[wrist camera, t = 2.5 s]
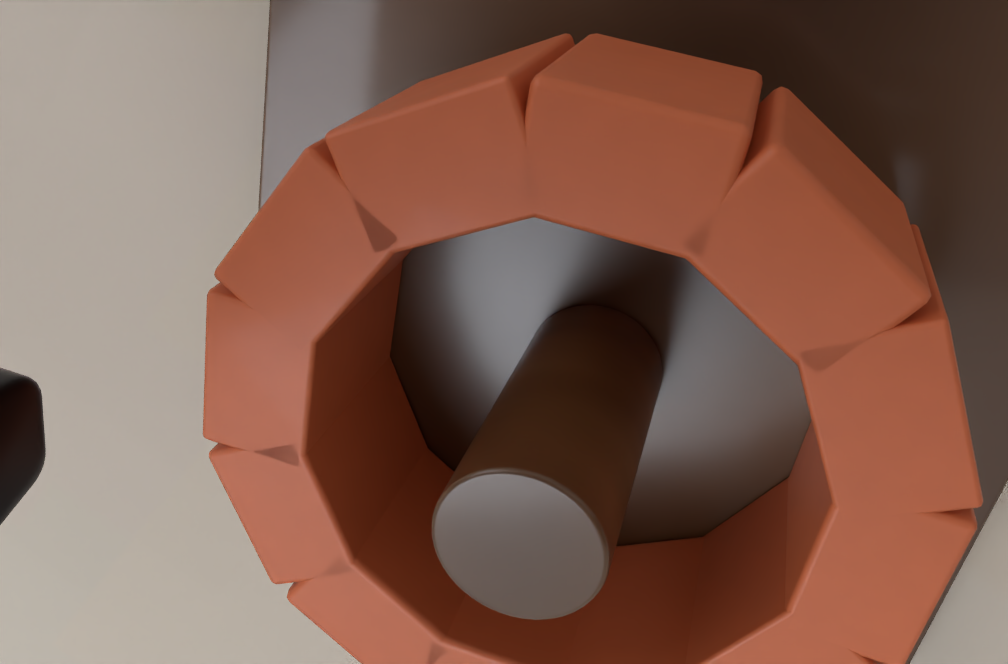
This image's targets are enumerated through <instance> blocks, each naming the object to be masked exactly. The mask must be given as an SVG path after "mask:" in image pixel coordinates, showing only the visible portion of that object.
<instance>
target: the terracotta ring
mask: <svg viewBox="0 0 1008 664" xmlns="http://www.w3.org/2000/svg"><path fill="white" fill-rule="evenodd" d="M762 84H763V82H762V75H760V74H759V73H758V72H756V71H754V70H749V69H745V68H741V67H737V66H732V65H728V64H724V63H720V62H716V61H711V60H707V59H703V58H699V57H694V56H690V55H686V54H682V53H678V52H673V51H669V50H665V49H661V48H656V47H652V46H648V45H644V44H639V43H635V42H631V41H627V40H623V39H618V38H614V37H610V36H606V35H601V34H597V33H596V34H590V35H588V36H587V37H586V38H584V39H583V40H582V41H580V42H579V43H578V44H576V45H575V44H574V40H573V37H572V36H571V35H570V34H566V33H564V34H561V35H558V36H555V37H552V38H549V39H546V40H543V41H540V42H537V43H534V44H531V45H528V46H525V47H522V48H519V49H516V50H513V51H510V52H507V53H504V54H501V55H498V56H495V57H492V58H489V59H486V60H483V61H480V62H477V63H474V64H471V65H468V66H465V67H462V68H459V69H456V70H453V71H450V72H447V73H444V74H441V75H438V76H435V77H432V78H429V79H426V80H423V81H420V82H418V83H417V84H415V85H413V86H411V87H409V88H407V89H406V90H404V91H402V92H400V93H398V94H396V95H395V96H393V97H391V98H389V99H387V100H385V101H383V102H382V103H380V104H378V105H376V106H374V107H372V108H371V109H369V110H367V111H365V112H363V113H361V114H360V115H358V116H356V117H354V118H352V119H350V120H349V121H347V122H345V123H343V124H341V125H339V126H338V127H336V128H334V129H332V130H330V131H329V132H328V133H327V134H326V135H325V138H323V139H321V140H319V141H318V142H316V143H314V144H312V145H310V146H309V147H307V148H305V149H304V151H303V152H302V153H301V155H300V156H299V158H298V159H297V160H296V162H295V163H294V164H293V166H292V167H291V168H290V170H289V171H288V172H287V174H286V175H285V176H284V178H283V179H282V181H281V182H280V183H279V185H278V186H277V187H276V189H275V190H274V191H273V193H272V194H271V195H270V197H269V198H268V199H267V201H266V202H265V204H264V205H263V206H262V208H261V209H260V210H259V212H258V213H257V214H256V216H255V217H254V218H253V220H252V221H251V222H250V224H249V225H248V227H247V228H246V229H245V231H244V232H243V233H242V235H241V236H240V237H239V239H238V240H237V241H236V243H235V244H234V245H233V247H232V248H231V249H230V251H229V252H228V254H227V255H226V256H225V258H224V259H223V260H222V262H221V263H220V264H219V266H218V267H217V268H216V270H215V274H214V275H215V277H216V279H217V280H219V281H220V283H219V284H217V285H216V286H215V287H213V288H212V289H210V290H209V292H208V294H207V315H206V350H205V384H204V419H203V435H204V437H205V438H206V439H209V440H212V441H215V442H218V444H217V445H216V446H215V447H214V448H213V449H212V450H211V451H210V452H209V458H210V460H211V462H212V464H213V466H214V468H215V470H216V472H217V474H218V476H219V478H220V480H221V482H222V484H223V486H224V488H225V490H226V492H227V494H228V496H229V498H230V500H231V502H232V504H233V506H234V508H235V510H236V512H237V514H238V516H239V518H240V520H241V522H242V524H243V526H244V528H245V530H246V532H247V534H248V536H249V538H250V540H251V542H252V544H253V546H254V548H255V550H256V552H257V554H258V556H259V558H260V560H261V562H262V564H263V566H264V568H265V570H266V572H267V574H268V576H269V578H270V580H271V581H272V582H273V583H275V584H282V583H291V582H294V583H293V585H292V586H291V587H290V589H289V591H288V595H287V598H288V600H289V602H290V603H292V604H293V605H294V606H295V607H296V608H297V609H299V610H300V611H301V612H302V613H303V614H304V615H306V616H307V617H308V618H309V619H310V620H311V621H313V622H314V623H315V624H316V625H317V626H318V627H320V628H321V629H322V630H323V631H324V632H325V633H327V634H328V635H329V636H330V637H331V638H332V639H334V640H335V641H336V642H337V643H338V644H339V645H341V646H342V647H343V648H344V649H345V650H346V651H348V652H349V653H350V654H351V655H352V656H353V657H355V658H356V659H357V660H358V661H359V662H360V663H362V664H905V663H906V661H907V659H908V657H909V655H910V654H911V652H912V650H913V648H914V646H915V644H916V642H917V640H918V639H919V637H920V635H921V633H922V631H923V629H924V627H925V625H926V623H927V622H928V620H929V618H930V616H931V614H932V612H933V610H934V608H935V607H936V605H937V603H938V601H939V599H940V597H941V595H942V593H943V592H944V590H945V588H946V586H947V584H948V582H949V580H950V578H951V577H952V575H953V573H954V571H955V569H956V567H957V565H958V563H959V562H960V560H961V558H962V556H963V554H964V552H965V550H966V548H967V547H968V545H969V543H970V541H971V539H972V537H973V535H974V533H975V531H976V530H977V520H976V516H975V513H974V509H973V508H978V507H981V506H982V503H983V497H982V491H981V486H980V481H979V476H978V470H977V465H976V460H975V455H974V449H973V444H972V439H971V434H970V428H969V423H968V418H967V413H966V407H965V402H964V397H963V392H962V386H961V381H960V376H959V371H958V365H957V360H956V355H955V350H954V344H953V339H952V334H951V329H950V323H949V320H948V317H947V314H946V311H945V307H944V304H943V301H942V298H941V295H940V292H939V289H938V286H937V283H936V280H935V276H934V273H933V270H932V267H931V264H930V261H929V258H928V255H927V252H926V249H925V246H924V242H923V239H922V236H921V233H920V230H919V228H918V226H917V225H914V224H911V225H910V222H909V219H908V215H907V212H906V209H905V206H904V203H903V202H902V201H901V200H900V199H899V198H898V197H897V196H896V195H895V194H894V193H893V192H892V191H891V190H890V189H889V188H888V187H887V186H886V185H885V184H884V183H883V182H882V181H881V180H880V179H879V178H878V177H877V176H876V175H875V174H874V173H873V172H872V171H871V170H870V169H869V168H868V167H867V166H866V165H865V164H864V163H863V162H862V161H861V160H860V159H859V158H858V157H857V156H856V155H855V154H854V153H853V152H852V151H851V150H850V149H849V148H848V147H847V146H846V145H845V144H844V143H843V142H841V141H840V140H839V139H838V138H837V137H836V136H835V135H834V134H833V133H832V132H831V131H830V130H829V129H828V128H827V127H826V126H825V125H824V124H823V123H822V122H821V121H820V120H819V119H818V118H817V117H816V116H815V115H814V114H813V113H812V112H811V111H810V110H809V109H808V108H807V107H806V106H805V105H804V104H803V103H802V102H801V101H800V100H799V99H798V98H797V97H796V96H795V95H794V94H793V93H792V92H791V91H790V90H789V89H787V88H784V87H779V88H777V89H774V90H773V91H772V92H771V93H770V94H769V95H768V96H767V97H766V98H765V99H764V100H763V101H762V102H760V103H759V99H760V94H761V89H762ZM533 217H535V218H539V219H542V220H546V221H550V222H553V223H557V224H561V225H564V226H568V227H572V228H575V229H579V230H583V231H586V232H590V233H594V234H597V235H601V236H605V237H608V238H612V239H616V240H619V241H623V242H627V243H630V244H634V245H638V246H641V247H645V248H649V249H652V250H656V251H660V252H663V253H667V254H671V255H674V256H678V257H682V258H685V259H686V260H688V261H689V262H690V263H691V264H692V265H693V266H694V267H695V268H696V269H697V270H698V271H699V272H700V273H701V274H702V275H703V276H704V277H705V278H706V279H707V280H709V281H710V282H711V283H712V284H713V285H714V286H715V287H716V288H717V289H718V290H719V291H720V292H721V293H722V294H723V295H724V296H725V297H726V298H727V299H728V300H730V301H731V302H732V303H733V304H734V305H735V306H736V307H737V308H738V309H739V310H740V311H741V312H742V313H743V314H744V315H745V316H746V317H747V318H748V319H749V320H751V321H752V322H753V323H754V324H755V325H756V326H757V327H758V328H759V329H760V330H761V331H762V332H763V333H764V334H765V335H766V336H767V337H768V338H769V339H770V340H771V341H773V342H774V343H775V344H776V345H777V346H778V347H779V348H780V349H781V350H782V351H783V352H784V353H785V354H786V355H787V356H788V357H789V358H790V359H791V360H792V361H794V362H795V363H796V364H797V365H798V369H799V373H800V377H801V381H802V385H803V389H804V393H805V397H806V401H807V404H808V408H809V412H810V416H811V423H810V425H809V428H808V430H807V433H806V435H805V438H804V440H803V443H802V445H801V448H800V450H799V453H798V456H797V458H796V461H795V463H794V466H793V468H792V471H791V473H790V476H789V477H788V478H787V479H785V480H784V481H783V482H781V483H780V484H778V485H777V486H775V487H774V488H772V489H771V490H770V491H768V492H767V493H765V494H764V495H762V496H761V497H760V498H758V499H757V500H755V501H754V502H752V503H751V504H749V505H748V506H747V507H745V508H744V509H742V510H741V511H739V512H738V513H736V514H735V515H734V516H732V517H731V518H729V519H728V520H726V521H725V522H723V523H722V524H721V525H719V526H718V527H716V528H715V529H713V530H712V531H710V532H709V533H708V534H706V535H705V536H703V537H696V538H686V539H677V540H668V541H659V542H650V543H641V544H632V545H623V546H616V548H615V552H614V556H613V559H612V563H611V566H610V570H609V573H608V576H607V579H606V581H605V584H604V585H603V587H602V589H601V590H600V592H599V593H598V594H597V595H596V596H595V597H594V599H592V600H591V601H590V602H589V603H587V604H586V605H585V606H584V607H582V608H580V609H579V610H577V611H575V612H573V613H571V614H568V615H565V616H562V617H558V618H553V619H544V620H532V619H522V618H517V617H512V616H509V615H505V614H502V613H499V612H497V611H495V610H492V609H490V608H488V607H486V606H484V605H482V604H481V603H479V602H477V601H476V600H474V599H473V598H471V597H470V596H469V595H468V594H466V593H465V592H464V591H463V590H462V589H461V588H460V587H458V586H457V585H456V584H455V582H454V581H453V580H452V579H451V578H450V576H449V575H448V574H447V572H446V571H445V569H444V568H443V566H442V564H441V562H440V560H439V558H438V556H437V553H436V551H435V548H434V543H433V538H432V516H433V512H434V508H435V506H436V503H437V501H438V499H439V497H440V495H441V494H442V492H443V490H444V489H445V487H446V485H447V484H448V482H449V480H450V478H451V477H452V475H453V473H454V471H453V470H452V469H451V468H449V467H448V466H447V465H446V464H445V463H444V462H443V461H442V460H440V459H439V458H438V457H437V456H436V455H435V454H434V453H433V452H432V451H430V450H429V449H428V448H427V445H426V443H425V440H424V438H423V435H422V433H421V431H420V428H419V426H418V423H417V421H416V418H415V416H414V414H413V411H412V409H411V406H410V404H409V401H408V399H407V397H406V394H405V392H404V389H403V387H402V384H401V382H400V380H399V377H398V375H397V372H396V370H395V367H394V365H393V363H392V360H391V358H390V351H391V343H392V336H393V329H394V321H395V314H396V307H397V299H398V292H399V285H400V277H401V270H402V263H403V259H404V258H405V257H406V256H407V255H408V253H409V252H410V251H411V250H412V249H413V248H416V247H420V246H424V245H428V244H432V243H435V242H439V241H443V240H447V239H451V238H455V237H459V236H463V235H467V234H470V233H474V232H478V231H482V230H486V229H490V228H494V227H498V226H502V225H505V224H509V223H513V222H517V221H521V220H525V219H529V218H533Z"/></svg>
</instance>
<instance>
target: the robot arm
mask: <svg viewBox="0 0 1008 664" xmlns="http://www.w3.org/2000/svg"><path fill="white" fill-rule="evenodd" d="M45 452H46V450H45V435H44V421H43V406H42V394H41V390H40V388H39V386H38V384H37V383H36V382H35V381H34V380H33V379H31V378H29V377H27V376H24V375H21V374H18V373H15V372H12V371H9V370H6V369H3V368H0V525H1V523H2V522H3V521H4V520H5V518H6V517H7V516H8V515H9V513H10V512H11V511H12V510H13V509H14V507H15V506H16V505H17V504H18V502H19V501H20V500H21V499H22V497H23V496H24V495H25V494H26V492H27V491H28V490H29V489H30V487H31V486H32V485H33V484H34V482H35V481H36V479H37V478H38V476H39V474H40V472H41V470H42V467H43V465H44V460H45Z"/></svg>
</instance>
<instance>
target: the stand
mask: <svg viewBox="0 0 1008 664" xmlns="http://www.w3.org/2000/svg"><path fill="white" fill-rule="evenodd" d="M564 33H566V34H570V35H571V36H572V37H573V40H574V44H575V45H576V44H578V43H579V42H580V41H582V40H583V39H584V38H586V37H587V36H588V35H590V34H596V33H597V34H601V35H606V36H610V37H614V38H618V39H623V40H627V41H631V42H635V43H639V44H644V45H648V46H652V47H656V48H661V49H665V50H669V51H673V52H678V53H682V54H686V55H690V56H694V57H699V58H703V59H707V60H711V61H716V62H720V63H724V64H728V65H732V66H737V67H741V68H745V69H749V70H754V71H756V72H758V73H759V74H760V75H762V82H763V84H762V89H761V94H760V99H759V103H760V102H762V101H763V100H764V99H765V98H766V97H767V96H768V95H769V94H770V93H771V92H772V91H773V90H774V89H777V88H779V87H784V88H787V89H789V90H790V91H791V92H792V93H793V94H794V95H795V96H796V97H797V98H798V99H799V100H800V101H801V102H802V103H803V104H804V105H805V106H806V107H807V108H808V109H809V110H810V111H811V112H812V113H813V114H814V115H815V116H816V117H817V118H818V119H819V120H820V121H821V122H822V123H823V124H824V125H825V126H826V127H827V128H828V129H829V130H830V131H831V132H832V133H833V134H834V135H835V136H836V137H837V138H838V139H839V140H840V141H841V142H843V143H844V144H845V145H846V146H847V147H848V148H849V149H850V150H851V151H852V152H853V153H854V154H855V155H856V156H857V157H858V158H859V159H860V160H861V161H862V162H863V163H864V164H865V165H866V166H867V167H868V168H869V169H870V170H871V171H872V172H873V173H874V174H875V175H876V176H877V177H878V178H879V179H880V180H881V181H882V182H883V183H884V184H885V185H886V186H887V187H888V188H889V189H890V190H891V191H892V192H893V193H894V194H895V195H896V196H897V197H898V198H899V199H900V200H901V201H902V202H903V203H904V206H905V209H906V212H907V215H908V219H909V222H910V225H911V224H914V225H917V226H918V228H919V230H920V233H921V236H922V239H923V242H924V246H925V249H926V252H927V255H928V258H929V261H930V264H931V267H932V270H933V273H934V276H935V280H936V283H937V286H938V289H939V292H940V295H941V298H942V301H943V304H944V307H945V311H946V314H947V317H948V320H949V323H950V329H951V334H952V339H953V344H954V350H955V355H956V360H957V365H958V371H959V376H960V381H961V386H962V392H963V397H964V402H965V407H966V413H967V418H968V423H969V428H970V434H971V439H972V444H973V449H974V455H975V460H976V465H977V470H978V476H979V481H980V486H981V491H982V497H983V503H982V506H981V507H978V508H973V509H974V513H975V516H976V520H977V530H976V531H975V533H974V535H973V537H972V539H971V541H970V543H969V545H968V547H967V548H966V550H965V552H964V554H963V556H962V558H961V560H960V562H959V563H958V565H957V567H956V569H955V571H954V573H953V575H952V577H951V578H950V580H949V582H948V584H947V586H946V588H945V590H944V592H943V593H942V595H941V597H940V599H939V601H938V603H937V605H936V607H935V608H934V610H933V612H932V614H931V616H930V618H929V620H928V622H927V623H926V625H925V627H924V629H923V631H922V633H921V635H920V637H919V639H918V640H917V642H916V644H915V646H914V648H913V650H912V652H911V654H910V655H909V657H908V659H907V661H906V663H905V664H910V662H911V660H912V658H913V656H914V654H915V652H916V651H917V649H918V647H919V645H920V643H921V641H922V639H923V637H924V636H925V634H926V632H927V630H928V628H929V626H930V624H931V623H932V621H933V619H934V617H935V615H936V613H937V611H938V609H939V608H940V606H941V604H942V602H943V600H944V598H945V596H946V595H947V593H948V591H949V589H950V587H951V585H952V583H953V581H954V580H955V578H956V576H957V574H958V572H959V570H960V568H961V567H962V565H963V563H964V561H965V559H966V557H967V555H968V553H969V552H970V550H971V548H972V546H973V544H974V542H975V540H976V539H977V537H978V535H979V533H980V531H981V529H982V527H983V525H984V524H985V522H986V520H987V518H988V516H989V514H990V512H991V511H992V509H993V507H994V505H995V503H996V501H997V499H998V497H999V496H1000V494H1001V492H1002V490H1003V488H1004V486H1005V484H1006V482H1007V481H1008V0H270V12H269V31H268V49H267V67H266V85H265V103H264V121H263V139H262V157H261V175H260V193H259V210H260V209H261V208H262V206H263V205H264V204H265V202H266V201H267V199H268V198H269V197H270V195H271V194H272V193H273V191H274V190H275V189H276V187H277V186H278V185H279V183H280V182H281V181H282V179H283V178H284V176H285V175H286V174H287V172H288V171H289V170H290V168H291V167H292V166H293V164H294V163H295V162H296V160H297V159H298V158H299V156H300V155H301V153H302V152H303V151H304V149H305V148H307V147H309V146H310V145H312V144H314V143H316V142H318V141H319V140H321V139H323V138H325V135H326V134H327V133H328V132H329V131H330V130H332V129H334V128H336V127H338V126H339V125H341V124H343V123H345V122H347V121H349V120H350V119H352V118H354V117H356V116H358V115H360V114H361V113H363V112H365V111H367V110H369V109H371V108H372V107H374V106H376V105H378V104H380V103H382V102H383V101H385V100H387V99H389V98H391V97H393V96H395V95H396V94H398V93H400V92H402V91H404V90H406V89H407V88H409V87H411V86H413V85H415V84H417V83H418V82H420V81H423V80H426V79H429V78H432V77H435V76H438V75H441V74H444V73H447V72H450V71H453V70H456V69H459V68H462V67H465V66H468V65H471V64H474V63H477V62H480V61H483V60H486V59H489V58H492V57H495V56H498V55H501V54H504V53H507V52H510V51H513V50H516V49H519V48H522V47H525V46H528V45H531V44H534V43H537V42H540V41H543V40H546V39H549V38H552V37H555V36H558V35H561V34H564ZM258 212H259V211H258ZM390 358H391V360H392V363H393V365H394V367H395V370H396V372H397V375H398V377H399V380H400V382H401V384H402V387H403V389H404V392H405V394H406V397H407V399H408V401H409V404H410V406H411V409H412V411H413V414H414V416H415V418H416V421H417V423H418V426H419V428H420V431H421V433H422V435H423V438H424V440H425V443H426V445H427V448H428V449H429V450H430V451H432V452H433V453H434V454H435V455H436V456H437V457H438V458H439V459H440V460H442V461H443V462H444V463H445V464H446V465H447V466H448V467H449V468H451V469H452V470H453V471H454V473H453V475H452V477H451V478H450V480H449V482H448V484H447V485H446V487H445V489H444V490H443V492H442V494H441V495H440V497H439V499H438V501H437V503H436V506H435V508H434V512H433V516H432V538H433V543H434V548H435V551H436V553H437V556H438V558H439V560H440V562H441V564H442V566H443V568H444V569H445V571H446V572H447V574H448V575H449V576H450V578H451V579H452V580H453V581H454V582H455V584H456V585H457V586H458V587H460V588H461V589H462V590H463V591H464V592H465V593H466V594H468V595H469V596H470V597H471V598H473V599H474V600H476V601H477V602H479V603H481V604H482V605H484V606H486V607H488V608H490V609H492V610H495V611H497V612H499V613H502V614H505V615H509V616H512V617H517V618H522V619H532V620H544V619H553V618H558V617H562V616H565V615H568V614H571V613H573V612H575V611H577V610H579V609H580V608H582V607H584V606H585V605H586V604H587V603H589V602H590V601H591V600H592V599H594V597H595V596H596V595H597V594H598V593H599V592H600V590H601V589H602V587H603V585H604V584H605V581H606V579H607V576H608V573H609V570H610V566H611V563H612V559H613V556H614V552H615V548H616V546H623V545H632V544H641V543H650V542H659V541H668V540H677V539H686V538H696V537H703V536H705V535H706V534H708V533H709V532H710V531H712V530H713V529H715V528H716V527H718V526H719V525H721V524H722V523H723V522H725V521H726V520H728V519H729V518H731V517H732V516H734V515H735V514H736V513H738V512H739V511H741V510H742V509H744V508H745V507H747V506H748V505H749V504H751V503H752V502H754V501H755V500H757V499H758V498H760V497H761V496H762V495H764V494H765V493H767V492H768V491H770V490H771V489H772V488H774V487H775V486H777V485H778V484H780V483H781V482H783V481H784V480H785V479H787V478H788V477H789V476H790V473H791V471H792V468H793V466H794V463H795V461H796V458H797V456H798V453H799V450H800V448H801V445H802V443H803V440H804V438H805V435H806V433H807V430H808V428H809V425H810V423H811V416H810V412H809V408H808V404H807V401H806V397H805V393H804V389H803V385H802V381H801V377H800V373H799V369H798V365H797V364H796V363H795V362H794V361H792V360H791V359H790V358H789V357H788V356H787V355H786V354H785V353H784V352H783V351H782V350H781V349H780V348H779V347H778V346H777V345H776V344H775V343H774V342H773V341H771V340H770V339H769V338H768V337H767V336H766V335H765V334H764V333H763V332H762V331H761V330H760V329H759V328H758V327H757V326H756V325H755V324H754V323H753V322H752V321H751V320H749V319H748V318H747V317H746V316H745V315H744V314H743V313H742V312H741V311H740V310H739V309H738V308H737V307H736V306H735V305H734V304H733V303H732V302H731V301H730V300H728V299H727V298H726V297H725V296H724V295H723V294H722V293H721V292H720V291H719V290H718V289H717V288H716V287H715V286H714V285H713V284H712V283H711V282H710V281H709V280H707V279H706V278H705V277H704V276H703V275H702V274H701V273H700V272H699V271H698V270H697V269H696V268H695V267H694V266H693V265H692V264H691V263H690V262H689V261H688V260H686V259H685V258H682V257H678V256H674V255H671V254H667V253H663V252H660V251H656V250H652V249H649V248H645V247H641V246H638V245H634V244H630V243H627V242H623V241H619V240H616V239H612V238H608V237H605V236H601V235H597V234H594V233H590V232H586V231H583V230H579V229H575V228H572V227H568V226H564V225H561V224H557V223H553V222H550V221H546V220H542V219H539V218H535V217H533V218H529V219H525V220H521V221H517V222H513V223H509V224H505V225H502V226H498V227H494V228H490V229H486V230H482V231H478V232H474V233H470V234H467V235H463V236H459V237H455V238H451V239H447V240H443V241H439V242H435V243H432V244H428V245H424V246H420V247H416V248H413V249H412V250H411V251H410V252H409V253H408V255H407V256H406V257H405V258H404V259H403V263H402V270H401V277H400V285H399V292H398V299H397V307H396V314H395V321H394V329H393V336H392V343H391V351H390Z"/></svg>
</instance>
